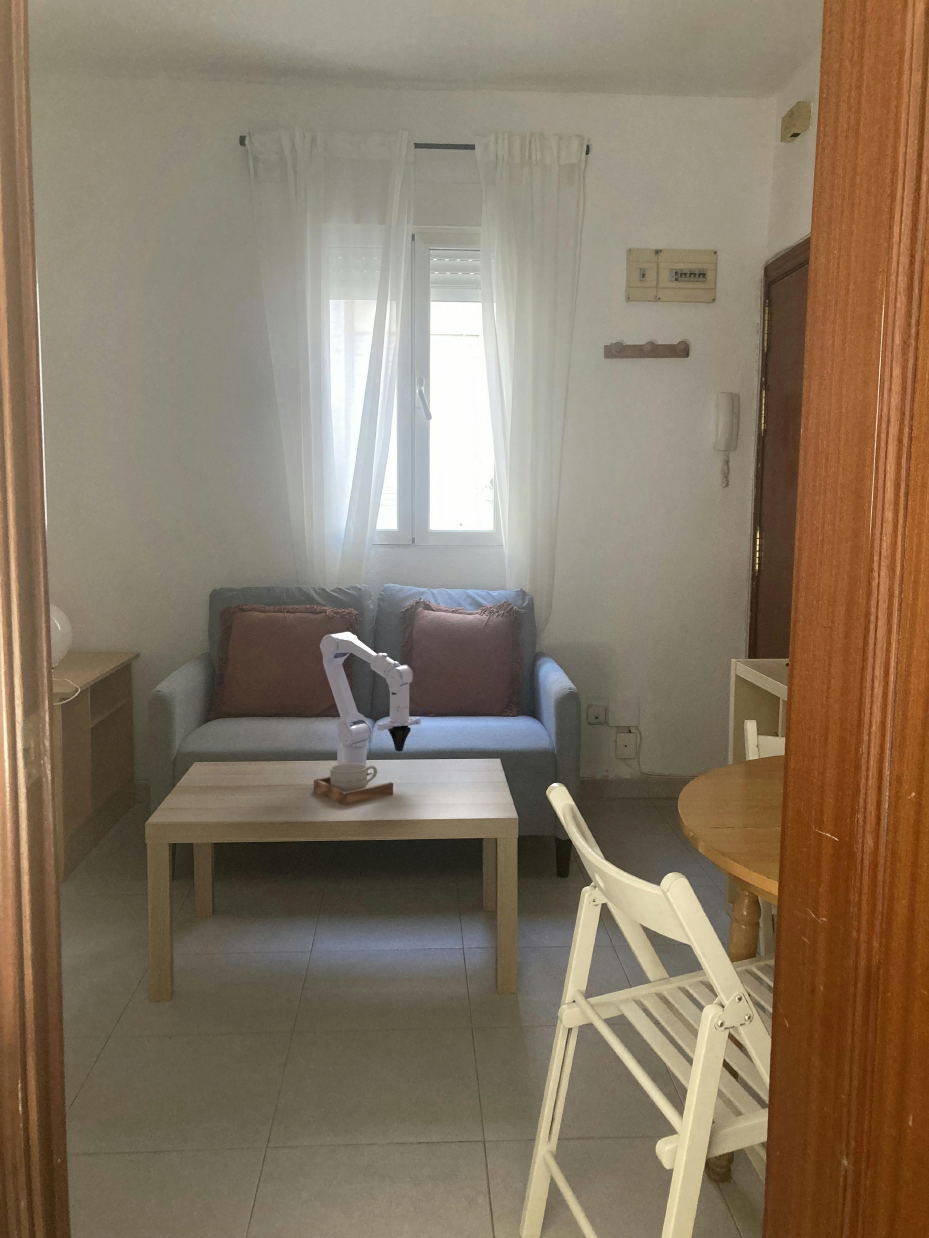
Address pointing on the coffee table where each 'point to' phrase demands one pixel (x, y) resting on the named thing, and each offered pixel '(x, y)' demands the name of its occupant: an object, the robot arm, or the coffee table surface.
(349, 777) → the teacup
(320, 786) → the cradle
